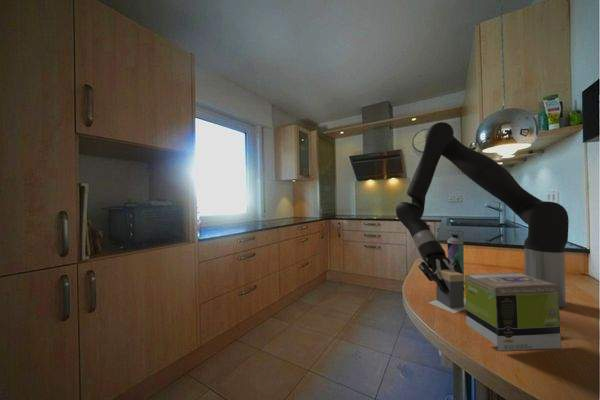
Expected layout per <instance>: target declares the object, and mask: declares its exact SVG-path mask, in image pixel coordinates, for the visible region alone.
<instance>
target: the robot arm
mask: <svg viewBox="0 0 600 400" xmlns="http://www.w3.org/2000/svg"><path fill="white" fill-rule="evenodd" d="M424 138H425V143H424V145H423V146H424V147H423V151H422V153H421V154H422V155H421V157H420V160H419V161H418V165H417V167H416V169H415V171H414V174H413V176H412V178H411V180H410V183H409V186H408V188H407V192H406V195H407V196H408V197H410V198H411V203H410V202H407V201H402V202H399V203H398V204H397V205H396V207H395V214H396V216H397V218H398V220H399V221H400V222H401V223H402V225H404V227H405V228H406V229H407V230H408V232H409V234H410V237H412V240H413V243H414V245H415V247H416V250H418V253H419V254H420V257H421V258H422V261H421V262H420V264H419V265H418V268H419V269H420V271H421V272H422V274H423V275H424V276H425V277H426V279H428V281H429V282H434V283H437V284H438V286H439V288H440V290H441V291H442V292H443V293H444V294H447V293H448V292H449V289H448V287H447V286H446V284H445V282H444V280H442V276H441V274H440V271H441V270H447V269H449V270H453V271H456V272H458V273H461V274H463V272H462V270H461V267H460V264H459V261H457V260H456V261H450V260H449V259H448V256H447V254H446V251H445V250H444V247H443V246H442V244H441V243H440V241H439V239H438V237H437V236H436V235H435V234H434V233H433V231H432V230H431V228H430V226H429V225H428V223H427V222H426V220H424V219H422V217H423V215H424V213H425V212H424V211H425V205H426V196H427V194H428V191H429V189H430V186H431V184H432V180H433V178H434V175H435V172H436V170H437V166H438V164H439V161H440V159H441V157H444V158H445V159H447V160H448V161H449V162H451V163H452V164H453V165H454V166H455V167H456V168H457V169H458V170H460V172H462V173H463V174H464V175H465V176H466V177H468V178H469V179H470V180H471V181H472V182H474V183H475V184H477V185H478V186H479V187H480V188H481V189H483V190H485V191H486V192H487V193H489V194H490V195H492V196H493V197H495V198H497V199H498V200H499V201H501V202H502V203H503V204H504V205H506V206H507V207H508V208H509V209H510V210H511V211H512V212H513V213H514V214H515V215H516V216H517V217H518V218H520V219H521V221H522V222H524V223H525V224H526V225H527V227H528V231H527V236H526V238H525V240H524V242H523V243H524V245H523V247H524V248H523V249H524V275H526V276H529V277H533V278H536V279H539V280H543V281H546V282H549V283H553V284H556V285H558V295H559V309H560V308H561V309H562V308H566V304H567V303H566V246H567V244H568V242H569V227H570V225H569V223H570V221H569V214H568V211H567V210H566V208H565V207H564V206H563V205H562V204H560V203H557V202H554V201H544V200H541V199H540V198H538V197H536V196H534V195H533V194H531V193H530V192H529V191H527V190H526V189H524V188H523V187H522V186H521V185H520V184H519V183H518V181H517V180H516V179H515V177H514V176H513V175H512V174H511V173H510V172H509V171H508V170H507V169H506V168H505V167H504V166H502V165H501V164H499V162H497V161H496V160H494V159H493V158H491V157H490V156H488V155H486V154H483V153H482V152H479V151H477V150H474V149H471V148H470V147H468V146H466V145H464V143H462V141H460V140H458V139H457V138H456V137H455V136H454V128H453V127H452V125H451V124H450V123H448V122H443V121H441V122H436V123H434V124H432V125H431V126H429V128H428V129H427V131H426V133H425V137H424ZM450 265H451V266H450Z"/></svg>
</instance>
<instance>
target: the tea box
mask: <svg viewBox="0 0 600 400" xmlns="http://www.w3.org/2000/svg"><path fill="white" fill-rule="evenodd" d="M464 292H465V293H464V294H465V298H466V309H465V316H466V317H465V318H466V319H465V320H466V322H465V323H466V325H467V326H468V327H470V328H471V329H472V330H474V331H475V332H477V333H478V334H480V335H481V336H482V337H484V338H485V339H486V340H488V341H490V342H491V343H492V344H494V345H495V346H493V348H494V349H495V350H496V351H500V352H501V351H502V352H503V351H522V350H523V351H525V350H527V351H528V350H548V349H549V350H550V349H553V350H555V349H562V340H561V338H562V337H561V317H560V308H559V295H558V285H556V284H553V283H549V282H546V281H543V280H539V279H536V278H533V277H529V276H526V275H525V274H523V273H519V272H502V273H501V272H498V273H497V272H496V273H475V274H474V273H472V274H469V273H468V274H465V273H464Z"/></svg>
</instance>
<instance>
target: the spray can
mask: <svg viewBox="0 0 600 400" xmlns="http://www.w3.org/2000/svg"><path fill="white" fill-rule="evenodd" d="M446 246H447V248H446V249H447V258H448V259H449V260H450V261H456V260H457V261H459V264H460V267H461V270H462V272H463V274H464V275H465V267H464V265H465V262H464V261H465V259H464V257H465V255H464V254H465V253H464V240H463V239H461V238H460V237H459V236H458V233H452V236H451V237H449V238H448V239H447V245H446ZM450 266H451V265H450Z"/></svg>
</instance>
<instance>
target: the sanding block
mask: <svg viewBox="0 0 600 400" xmlns="http://www.w3.org/2000/svg"><path fill="white" fill-rule="evenodd" d="M440 274H441V276H442V280H444V282H445V284H446V286H447V287H448V289H449V292H448V293H447V294H444V293H443V292H442V291H441V290H440V288H439V286H438V284H437V283H436V282H435V283H436V286H435V288H436V300H438V301H439V302H441V303H443V304H444V305H446V306H448V307H449V308H461V307H464V298H465V293H464V292H465V273H464V274H461V273H458V272H456V271H453V270H449V269H447V270H441V271H440Z"/></svg>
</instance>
